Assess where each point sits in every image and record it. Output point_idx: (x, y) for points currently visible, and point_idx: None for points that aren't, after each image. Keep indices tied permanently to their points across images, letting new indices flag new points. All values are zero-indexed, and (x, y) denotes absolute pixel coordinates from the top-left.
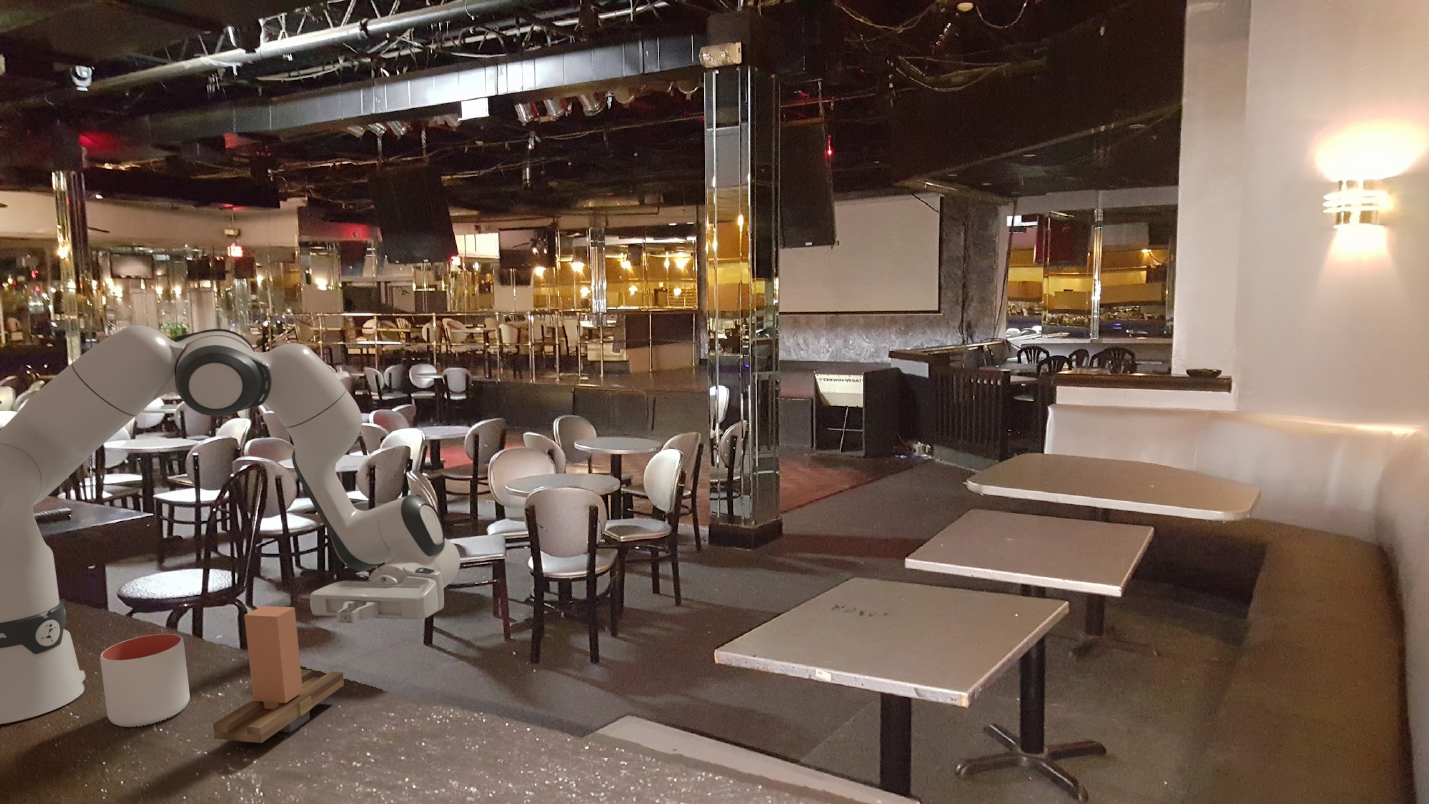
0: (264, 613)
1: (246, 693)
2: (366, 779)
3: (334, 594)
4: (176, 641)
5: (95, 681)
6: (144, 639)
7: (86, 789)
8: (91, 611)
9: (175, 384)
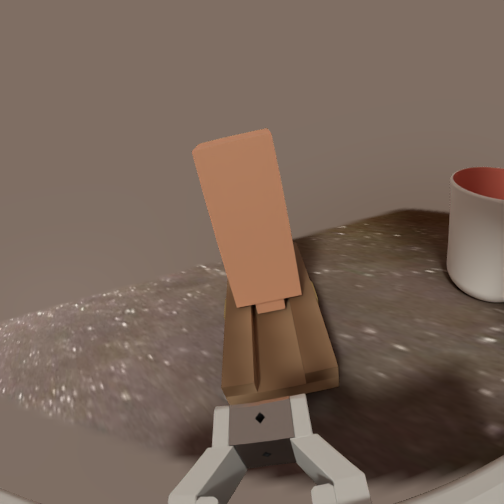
0: (233, 136)
1: (454, 361)
2: (114, 300)
3: (490, 474)
4: None
5: None
6: None
7: (357, 223)
8: None
9: None
